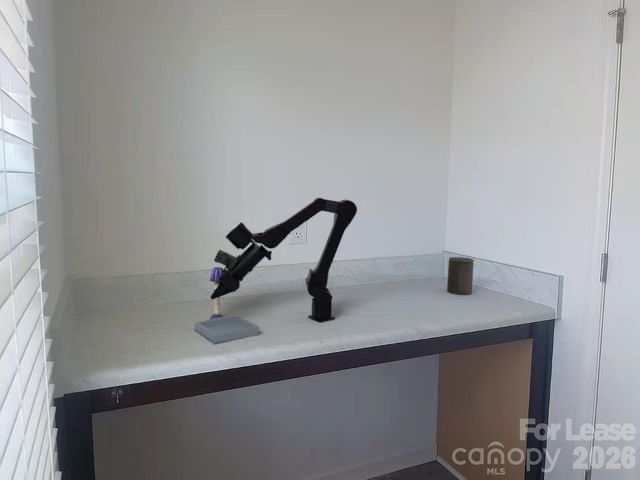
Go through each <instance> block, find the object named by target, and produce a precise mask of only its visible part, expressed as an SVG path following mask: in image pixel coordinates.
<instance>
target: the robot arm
mask: <svg viewBox="0 0 640 480" xmlns="http://www.w3.org/2000/svg"><path fill="white" fill-rule="evenodd" d="M357 207H358V206H357V205H356V203H355V202H353V200H349V199H342V200H339V201H338V200H331V199H326V198H325V199H324V198H322V197H316V198H315V199H314V200H313V201H312V202H310V203H309V204H307V205H306V206H304V207H303V208H301V209H300V210H299V211H297V212H295V214H293V215H291V216H290V217H289V218H288V219H286V220H284V221H283V222H282V221H281V222H280V223H277V224H275V225H273V226H270V227H268V228H266V229H265V230H264V231H263V232H255V233H252V232H251V231H250V230H249V228H248V227H246V225H245V224H244V223H243V222H239V224H237V226H235V227H233V229H231V230H230V231H229V232H228V234H226V235H225V238H226V239H227V240H228V241H229V242H230V243H231V245H233V246H234V247H235V248H236V249H237V250H244V251H243V252H242V253H241V254H238V255H237V256H234V255H232V254H230V253H228V252H226V251H224V250H222V249H219V250H218V251H217V253H216V255H215V257H214V259H213V262H215V263H217V264H220V265H223V266H224V268H223V272H224V273H223V274H222V275H221V276H220V277H219V285H218V287H217V288H216V289H213V292H212V293H211V295H210V299H211V300H215V298H218V297H220V298H221V297H223V296H225V295H228V294H230V293H235V292H237V290H238V289H240V287H241V282H242V281H243V280H244V278H245V277H246V276H247V275H248V274H249V273H252V271H253V270H254V269H255V267H256V266H257V265H258V264H259V263H260V262H262V261H263V259H264V258H266V259H267V260H268V261H271V260H272V252H273V251H272V250H268V249H275V248H278V246H279V245H280V244H281V243H282V242H283V241H284V240H285V239H286V238H287V237H288V236H289V235H290V234H291V233H292V232H293V231H294V230H296V229H297V228H299V227H300V226H301V225H303V224H305V223H306V222H308V221H309V220H310V219H312V218H313V217H314V216H316V215H317V214H319V213H320V212H327V213H332V214H334V215H333V223H332V227H331V229H330V232H329V234H328V237H327V240H326V243H325V246H323V247H324V248H323V249H322V252H321V255H320V257H319V260H318V262H317V265H316V267H315V268H314V269H312V268H309V270H308V274H307V276H306V278H304V279H305V286H306V289H307V292H308V294H309V296H311V297H312V298H311V315H307V318H309V319H311V320H313V321H316V322H317V323H324V322H327V321H331V320H332V321H333V320H335V319H336V317H335V316H332V301H333V295H332V293H331V291H330V290H329V288H327V286H328V280H329V279H328V278H329V272H330V269H331V267H332V264H333V261H334V259H335V257H336V253H337V252H338V250H339V249H338V248H339V246H340V243H341V241H342V238H343V236H344V233H345V232H346V229H348V227H349V226H350V224H351V223H352V222H353V220H354V218H355V216H356V215H357V213H358V208H357ZM258 244H260V245H258Z"/></svg>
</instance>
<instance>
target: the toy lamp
mask: <svg viewBox="0 0 640 480" xmlns="http://www.w3.org/2000/svg"><path fill="white" fill-rule="evenodd" d="M223 270H224V268H223V267H217V266H216V267H213V268H212V270H211V275H210V277H209V281H210V282H212V283H214V284H213V285H214V287H213V288H214V289H216V288H217V287H218V285H219V277H220V276H221V275H222V274H223V273H224V272H223ZM214 289H213V290H214ZM220 300H221V297H218V298H215V299H214V302H213V304H214V305H213V309H214V310H213V314H212V315H211V316H210V318H209V320H211V319H217V318H222V317H224V316H223V315H222V314H221V313H220V309H221V307H220V306H221V305H220V304H221V301H220Z"/></svg>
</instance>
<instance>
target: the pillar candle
mask: <svg viewBox="0 0 640 480" xmlns="http://www.w3.org/2000/svg"><path fill="white" fill-rule="evenodd" d="M474 260H475V259H474V258H470V257H463V256H452V257H451V256H450V257H449V258H448V264H447V265H448V267H447V281H446V283H447V286H446V292H448V293H449V294H454V295H460V296H461V295H462V296H465V295H467V294H468V295H472V293H473V281H474V278H473V277H474V262H475V261H474Z"/></svg>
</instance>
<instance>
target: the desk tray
mask: <svg viewBox="0 0 640 480" xmlns="http://www.w3.org/2000/svg"><path fill="white" fill-rule="evenodd" d="M194 331H195V332H196V333H198V334H199V335H201V336H202V337H203V338H205V339H206V340H207V341H209V342H211V343H212V344H213V345H214V346H215V345H219V344H224V343H228V342H232V341H237V340H242V339H246V338H251V337H255V336H260V325H257V324H256V323H254V322H252V321H249V320H248V319H246V318H244V317H242V316H240V315H239V314H234V315H228V316H223V317H222V318H217V319H211V320H210V319H207V320H206V319H205V320H201V321H195V322H194Z"/></svg>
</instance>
